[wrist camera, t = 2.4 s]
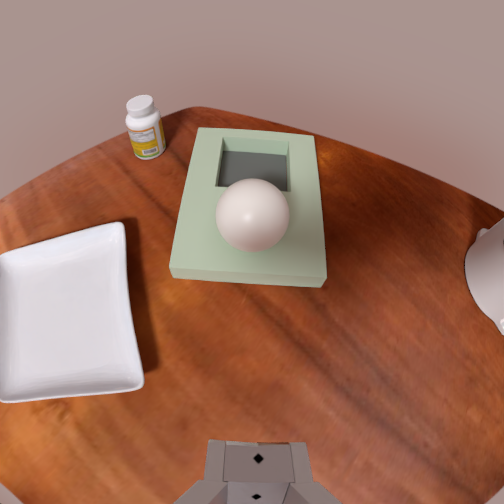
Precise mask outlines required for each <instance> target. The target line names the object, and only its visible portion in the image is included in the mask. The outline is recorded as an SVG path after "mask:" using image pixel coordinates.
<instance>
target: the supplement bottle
mask: <svg viewBox="0 0 504 504" xmlns="http://www.w3.org/2000/svg"><path fill="white" fill-rule="evenodd" d="M127 111H128V115H127V117H126V126H127V129H128V133H129V136H130V140H131V143H132V147H133V150H134V153H135V155H136V156H137V157H138V158H140V159H145V160H147V159H153V158H156V157H158V156H159V155H161V154H162V153H163V151H164V150H165V147H166V142H165V137H164V132H163V126H162V120H161V115H160V111H159V110H158V109H157V108H156V107H154V102H153V98H152V97H151V96H149V95H140V96H137V97H134V98H132V99H131V100H129V101H128V103H127Z"/></svg>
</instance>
